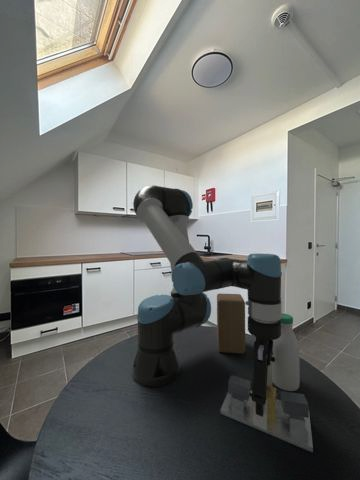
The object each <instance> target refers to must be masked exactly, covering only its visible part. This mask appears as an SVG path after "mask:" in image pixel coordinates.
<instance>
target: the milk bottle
mask: <svg viewBox="0 0 360 480" xmlns="http://www.w3.org/2000/svg"><path fill="white" fill-rule="evenodd" d="M280 321H281V336H280V337H279V338H278V339H275V340H273V350H272V352H273V355H272V357H275V362H272V361H271V362H272V385H274V387H275V386H276V387H277V388H278V389H281V391H285V392H295V391H297V390H298V389H299V387H300V373H301V372H300V347H299V346H300V345H299V342H298V338H297V336H296V334H295V332H294V329H293V325H294V318H293V316H292V315H291V314H288V313H282V312H281V319H280Z"/></svg>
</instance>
